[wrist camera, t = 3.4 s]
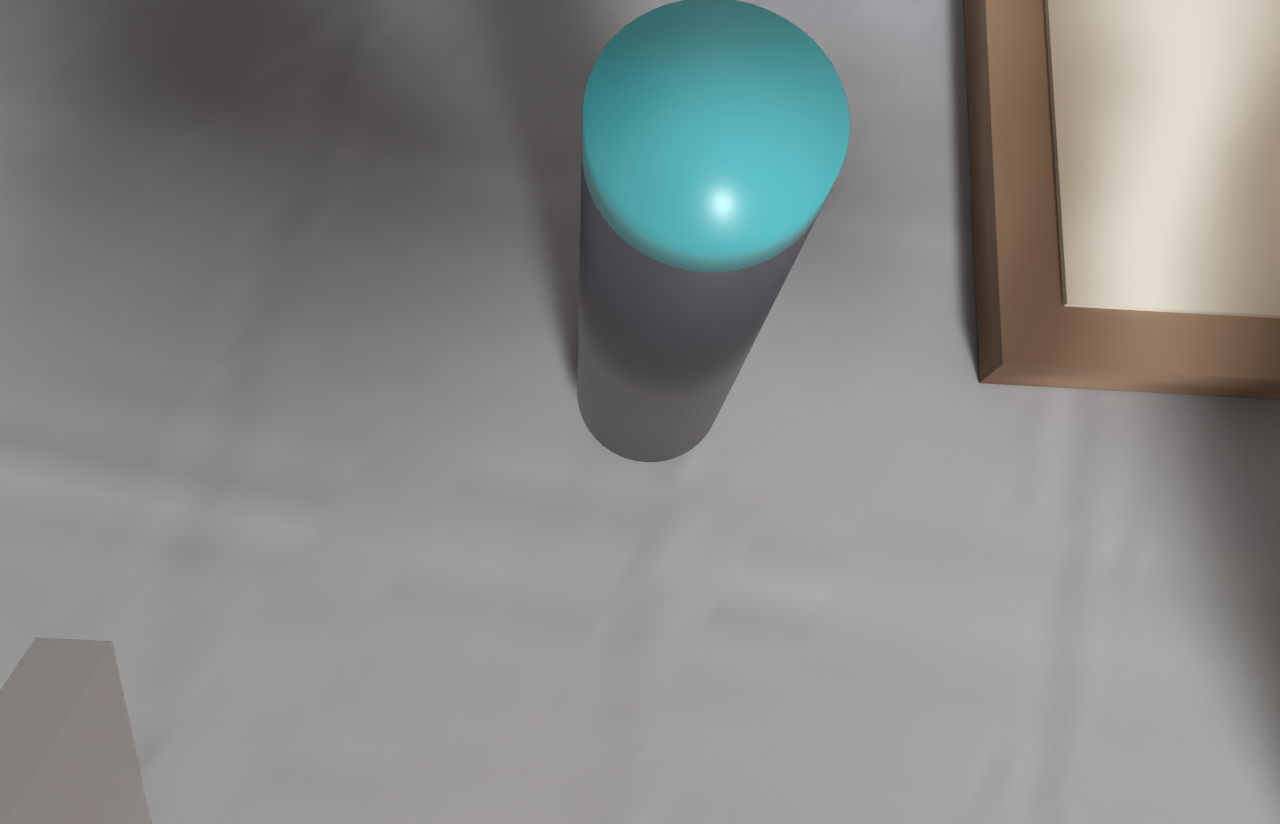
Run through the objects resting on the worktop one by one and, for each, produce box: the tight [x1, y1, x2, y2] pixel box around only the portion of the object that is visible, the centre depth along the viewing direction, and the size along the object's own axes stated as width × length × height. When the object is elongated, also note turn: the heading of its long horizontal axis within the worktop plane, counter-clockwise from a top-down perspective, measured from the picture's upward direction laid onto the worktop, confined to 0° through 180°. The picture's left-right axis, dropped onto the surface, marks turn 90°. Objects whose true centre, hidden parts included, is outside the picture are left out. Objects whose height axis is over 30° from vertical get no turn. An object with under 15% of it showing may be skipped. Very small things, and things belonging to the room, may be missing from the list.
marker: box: [577, 0, 850, 462], centre depth 20 cm, size 3×3×13 cm
